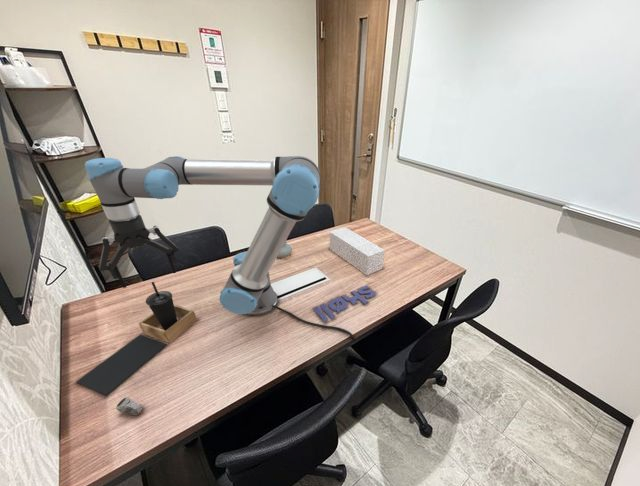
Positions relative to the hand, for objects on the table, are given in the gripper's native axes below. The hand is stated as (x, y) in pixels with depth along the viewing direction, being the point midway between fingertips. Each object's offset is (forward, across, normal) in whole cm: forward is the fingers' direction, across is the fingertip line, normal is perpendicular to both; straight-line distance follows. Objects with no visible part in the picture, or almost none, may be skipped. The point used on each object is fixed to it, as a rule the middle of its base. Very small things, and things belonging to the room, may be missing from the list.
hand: (150, 278), depth 91 cm
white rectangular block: (+21, -86, +4) cm, 89 cm away
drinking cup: (+22, 0, 0) cm, 22 cm away
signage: (+21, -60, +30) cm, 70 cm away
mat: (+22, +14, +9) cm, 28 cm away
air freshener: (+22, -58, -22) cm, 66 cm away
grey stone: (+22, +16, +29) cm, 39 cm away
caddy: (+22, 0, 0) cm, 22 cm away
